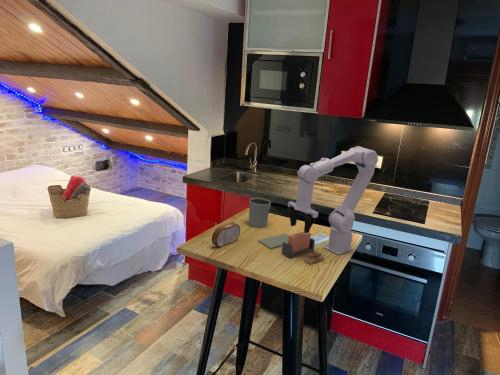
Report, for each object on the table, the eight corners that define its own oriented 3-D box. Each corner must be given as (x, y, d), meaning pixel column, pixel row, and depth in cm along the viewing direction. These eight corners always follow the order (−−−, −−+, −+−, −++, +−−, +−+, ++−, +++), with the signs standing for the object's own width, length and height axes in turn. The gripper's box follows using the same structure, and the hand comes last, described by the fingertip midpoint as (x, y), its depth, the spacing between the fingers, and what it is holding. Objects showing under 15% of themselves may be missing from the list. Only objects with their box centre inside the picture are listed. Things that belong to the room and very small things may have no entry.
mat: (285, 234, 168) (285, 233, 168) (298, 241, 162) (298, 240, 161) (257, 241, 158) (257, 240, 158) (270, 249, 152) (270, 247, 152)
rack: (305, 246, 157) (306, 235, 155) (313, 251, 153) (315, 240, 152) (281, 253, 149) (282, 242, 147) (289, 258, 145) (291, 246, 144)
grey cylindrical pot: (245, 220, 181) (247, 197, 178) (265, 220, 184) (267, 197, 181) (250, 228, 172) (252, 204, 169) (271, 228, 174) (273, 204, 171)
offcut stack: (318, 258, 148) (319, 249, 147) (323, 261, 146) (324, 252, 145) (304, 262, 143) (305, 254, 142) (309, 265, 141) (310, 257, 140)
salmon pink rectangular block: (304, 248, 155) (306, 231, 153) (308, 251, 153) (310, 233, 151) (286, 254, 149) (288, 235, 147) (291, 256, 147) (293, 237, 145)
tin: (235, 237, 161) (236, 219, 158) (240, 240, 159) (242, 221, 157) (210, 247, 149) (211, 228, 147) (216, 250, 147) (217, 230, 145)
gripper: (284, 192, 147) (280, 224, 151) (311, 202, 136) (305, 237, 140) (296, 190, 152) (292, 221, 155) (323, 200, 141) (318, 234, 144)
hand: (299, 228), depth 148 cm, fingers open, 7 cm apart
